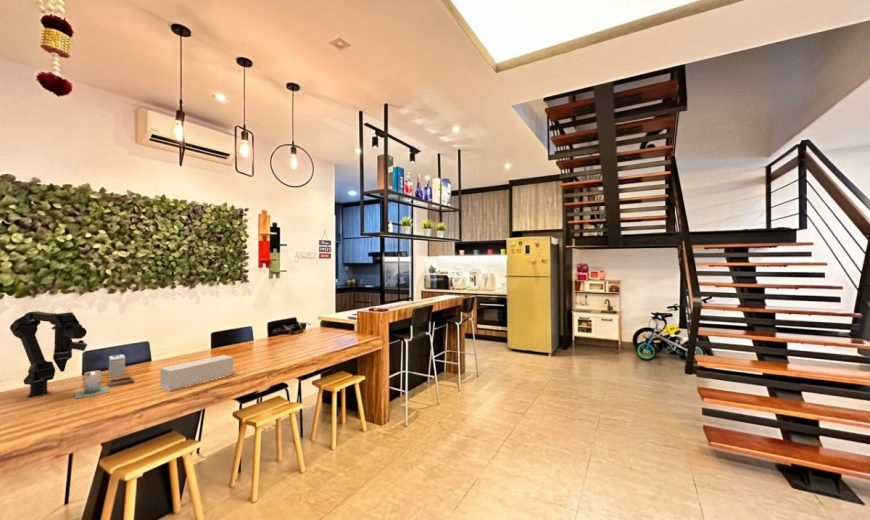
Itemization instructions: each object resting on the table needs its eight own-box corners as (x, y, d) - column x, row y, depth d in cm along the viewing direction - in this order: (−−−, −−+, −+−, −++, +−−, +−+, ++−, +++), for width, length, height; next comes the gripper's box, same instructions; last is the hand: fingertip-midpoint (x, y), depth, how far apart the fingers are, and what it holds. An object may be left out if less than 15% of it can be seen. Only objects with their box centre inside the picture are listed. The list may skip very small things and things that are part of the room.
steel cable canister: (87, 390, 177) (88, 371, 177) (102, 389, 179) (103, 369, 179) (80, 394, 171) (81, 374, 172) (96, 393, 174) (97, 372, 174)
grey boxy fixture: (108, 374, 206) (108, 356, 206) (123, 371, 211) (123, 354, 211) (109, 378, 199) (110, 359, 199) (125, 375, 204) (125, 357, 204)
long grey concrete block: (223, 372, 209) (223, 354, 210) (233, 375, 204) (233, 357, 204) (160, 388, 182) (160, 367, 182) (169, 392, 177) (169, 371, 177)
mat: (74, 393, 175) (75, 392, 175) (107, 386, 184) (107, 386, 184) (75, 399, 167) (75, 398, 167) (109, 392, 175) (109, 391, 175)
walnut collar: (107, 383, 189) (107, 380, 189) (131, 378, 197) (131, 376, 197) (109, 387, 183) (109, 384, 183) (133, 382, 190) (134, 380, 190)
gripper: (86, 338, 171) (86, 369, 171) (85, 333, 184) (84, 362, 183) (53, 341, 163) (52, 375, 163) (54, 336, 176) (53, 367, 175)
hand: (62, 369), depth 171 cm, fingers open, 9 cm apart
